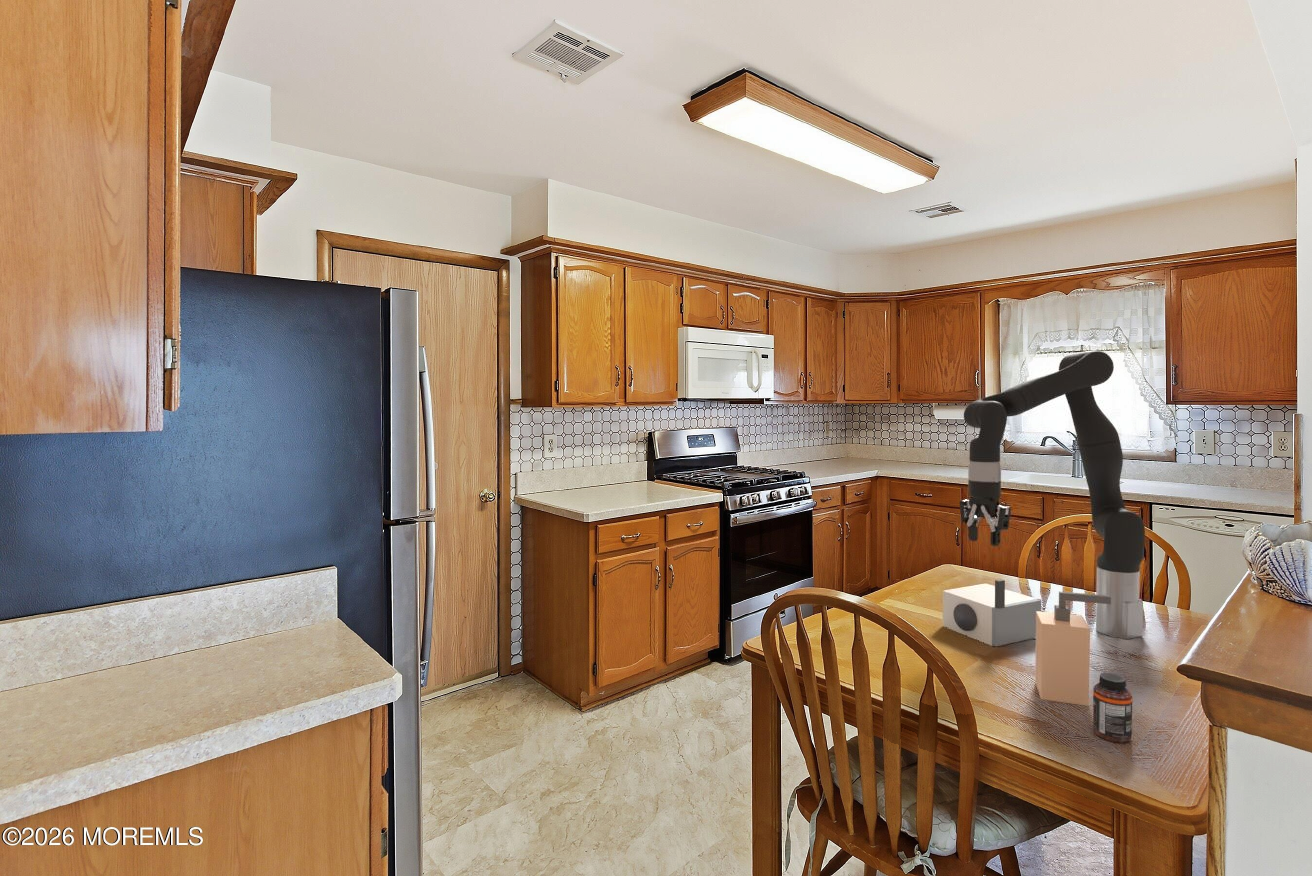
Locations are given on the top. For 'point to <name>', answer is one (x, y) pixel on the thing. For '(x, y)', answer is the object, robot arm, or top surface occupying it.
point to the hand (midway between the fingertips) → (984, 542)
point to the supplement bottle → (1112, 708)
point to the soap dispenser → (1064, 651)
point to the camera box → (974, 609)
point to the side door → (1012, 618)
